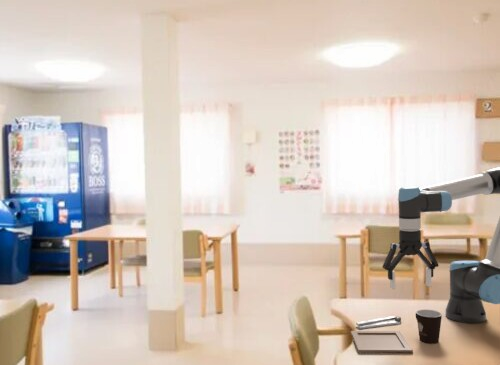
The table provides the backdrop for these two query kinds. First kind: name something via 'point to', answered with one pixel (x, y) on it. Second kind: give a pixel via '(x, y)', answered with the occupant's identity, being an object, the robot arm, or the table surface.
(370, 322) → the tongs
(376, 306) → the table surface
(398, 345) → the tray
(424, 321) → the coffee mug
